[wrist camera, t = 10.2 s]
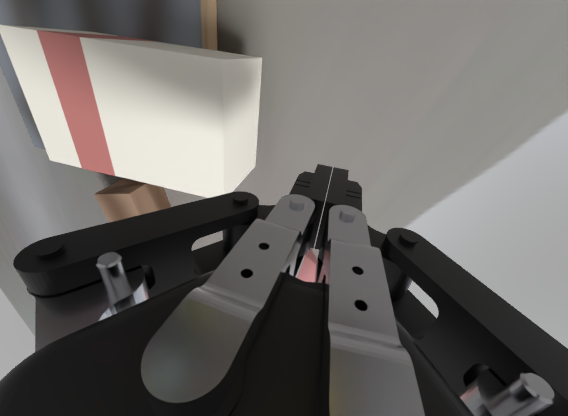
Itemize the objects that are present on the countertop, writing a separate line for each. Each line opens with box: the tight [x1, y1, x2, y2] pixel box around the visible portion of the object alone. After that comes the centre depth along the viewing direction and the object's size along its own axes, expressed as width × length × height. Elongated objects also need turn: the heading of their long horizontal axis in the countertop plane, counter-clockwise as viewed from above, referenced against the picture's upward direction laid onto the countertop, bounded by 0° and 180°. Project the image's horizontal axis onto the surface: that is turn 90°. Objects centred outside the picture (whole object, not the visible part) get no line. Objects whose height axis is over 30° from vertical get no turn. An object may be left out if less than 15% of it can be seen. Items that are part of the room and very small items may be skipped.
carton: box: [0, 25, 262, 198], centre depth 20 cm, size 7×9×15 cm
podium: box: [0, 0, 217, 149], centre depth 26 cm, size 22×16×3 cm
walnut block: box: [94, 178, 171, 223], centre depth 32 cm, size 5×5×5 cm
